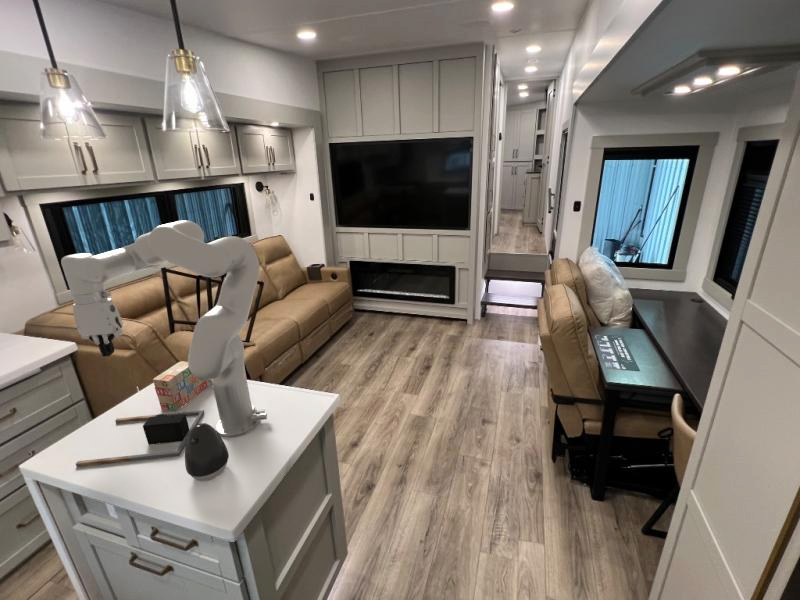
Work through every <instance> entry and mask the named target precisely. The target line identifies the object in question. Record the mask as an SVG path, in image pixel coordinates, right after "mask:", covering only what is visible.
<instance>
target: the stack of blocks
mask: <svg viewBox="0 0 800 600" xmlns="http://www.w3.org/2000/svg"><path fill="white" fill-rule="evenodd" d="M152 381H153V385H154V390H155V393H156V396H157V399H158V401H159V405H160V410H163V411H169V412H174V413H177V412H179V411H180V410H181V409H182V408H183V407H185V406H186V405H187V404H188V403H190V402H191V401H192V400H193V398H194V397H195V398H196V397H197V396H198V395H199V393H200V394H201V393H202V392H203V391H204V389H205V390H206V389H207V388H209V387H210V386H211V385H212V380H200V379H198V378H196V377H195V376H194V375H193V374H192V373H191V372H190V370H189V367H188V361H179V362H177V363H176V364H173V365H172V366H171V367H169V368H168V369H166V370H165V371H163V372H161V373H160V374H159V375H157V376H155V377H154V378H152ZM196 395H197V396H196ZM195 398H194V399H195ZM190 400H191V401H190ZM189 401H190V402H189ZM186 403H187V404H186ZM185 404H186V405H185ZM184 405H185V406H184ZM182 406H183V407H182ZM181 407H182V408H181Z"/></svg>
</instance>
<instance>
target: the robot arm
mask: <svg viewBox="0 0 800 600" xmlns="http://www.w3.org/2000/svg"><path fill="white" fill-rule="evenodd" d="M204 241H205V233H204V231H203V229H202V227H201V226H200V225H199V224H198V223H196V222H193V220H188V219H187V220H185V219H184V220H177V221H174V222H168V223H165V224H161V225H157V226H156V227H154V229H152V230H151V231H149V232H146V233H144V234H142V235H139V236H138V237H137V238H136V240H135V242H134V243H133V242H132V243H131V244H129V245H126V246H123V247H121V248H116V249H113V250H109V251H105V252H103V253H102V252H101V253H98V254H96V255H95V254H94V255H93V253H87V252H82V253H74V254H68V255H65V256H63V257H62V258H61V261H60V262H61V267H62V270H63V272H64V276H65V280H66V281H67V285H68V288H69V291H70V293H71V296H72V300H73V302H74V303H73V304H72V312H73V318H74V323H75V327H76V330H77V331H78V333H79V335H81V336H80V337H81V339H83V340H90V341H91V342H94V344H95V345H97V346H98V348H99V351H100V353H101V355H102V357H103V358H104V357H110V356H111V355H113V354H114V353H115V347H114V343H113V340H114V339H115V338H118V337H120V336H122V335H123V334H124V332H123V330H122V328H123V327H124V323H123V319H122V317H121V314H120V312H119V310H118V308H117V306H116V303H115V302H114V301H113V299H112V298H109V297H112V294H111V291H107V288H106V287H105V285H104V284H105V283H108V282H111V281H113V280H116V279H119V278H121V277H125V276H126V275H130V274H133V273H135V272H138V271H140V270H143V269H145V268H148V267H151V266H155V267H156V266H159V265H161V264H164V263H166V262H168V263H169V264H172V265H174V266H176V267H179V268H182V269H184V270H186V271H190V272H192V273H194V274H197V275H199V276H202V277H204V278H205V277H207V278H217V277H221V276H222V277H223V275H225V274H226V276H225V278H224V280H223V281H222V285H221V287H220V293H219V296H218V299H217V303H216V304H215V306H214V307H212V308H211V309H210V310H208V311H207V312H206V313H204V314H203V315H202V316H201V317H200V318H199V319H198V321H197V322H196V324H195V327H194V329H193V335H192V338H191V342H190V347H189V349H188V350H189V351H188V356H187V362H188V367H189V370H190V372H191V373H192V374H193V375H194V376H195V377H196V378H198V379H200V380H212V384H211V385H212V389H213V393H214V398H215V402H216V407H217V411H218V416H219V420H218V421H217V424H216V426H215V428H216V429H215V430H216V431H217V432H218V434H219V435H220V436H221V437H223V438H235V437H238V436H240V437H241V436H243V435H245V434H247V433H249V432H251V431H252V430H254V429H255V428H256V427H257V426H258V425H259V423H260V421H261V420H262V421H264V420H267V419H268V413H267V412H266V410H265V409H256V407H255V405H252V400H251V396H250V390H249V384H248V379H247V374H246V369H245V347H244V343H243V342H244V341H243V340H242V338H241V336H240V335H239V334H240V332H242V330H243V329H244V328H245V327H246V325H247V322H248V318H249V314H250V310H251V307H252V304H253V299H254V295H255V291H256V288H257V284H258V279H259V276H260V275H259V274H260V262H259V258H258V255H257V252H256V251H255V249H254V248H253V246H252V245H251V244H250V242H248V240H245V239H244V238H242V237H240V236H236V235H235V236H234V235H233V236H231V235H230V236H225V237H221V238H218V239H215V240H212V241H210V242H204Z"/></svg>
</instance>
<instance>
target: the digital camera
mask: <svg viewBox="0 0 800 600" xmlns="http://www.w3.org/2000/svg"><path fill="white" fill-rule="evenodd" d="M165 414H166V413H159V414H155V415H156V416H155V417H149V419H148V420H147V421H144V424H142V428H143V432H144V435H145V438H146V442H147V444H148V446H150V445H160V444H161V445H162V444H169V443H171V444H173V443H179V442H182V441H183V439H184V437H185V436H186V434H187V433H188V431H189V429H190V426H189V423H188V419H187V417H186V415H185V414H177V415H165Z"/></svg>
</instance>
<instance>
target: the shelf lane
mask: <svg viewBox="0 0 800 600" xmlns="http://www.w3.org/2000/svg"><path fill="white" fill-rule="evenodd" d="M156 415H157V414H151V415H150V414H149V415H139V416H131V417H130V416H129V417H120V418H116V419H115V424H125V423H127V424H128V423H135V422H146V421H147V420H148V419H149V417H155V416H156ZM132 455H133V454H132ZM132 455H125V456H123V455H122V456H114V457H105V458H97V459H96V458H95V459H86V460H85V459H84V460H78V461H76V462H75V466H76V468H81V466H84V467H92V466H100V465H101V466H102V465H109V464H119V463H129V462H132V461H131V460H130V457H131V456H132Z"/></svg>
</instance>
